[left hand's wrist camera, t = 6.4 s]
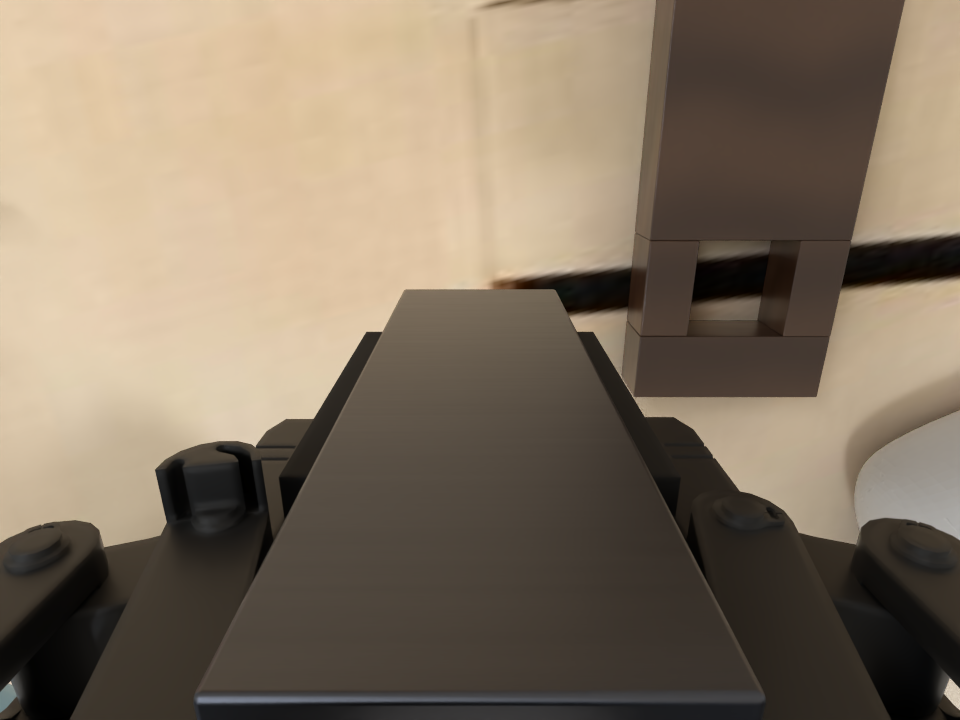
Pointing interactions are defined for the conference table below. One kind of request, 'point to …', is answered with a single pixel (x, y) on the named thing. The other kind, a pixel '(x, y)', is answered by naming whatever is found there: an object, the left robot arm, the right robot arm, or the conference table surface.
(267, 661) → the peg
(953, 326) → the conference table surface
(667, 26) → the peg board
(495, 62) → the conference table surface
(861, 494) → the projector
